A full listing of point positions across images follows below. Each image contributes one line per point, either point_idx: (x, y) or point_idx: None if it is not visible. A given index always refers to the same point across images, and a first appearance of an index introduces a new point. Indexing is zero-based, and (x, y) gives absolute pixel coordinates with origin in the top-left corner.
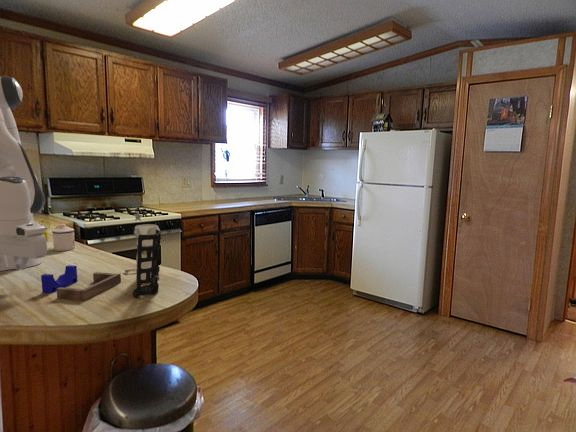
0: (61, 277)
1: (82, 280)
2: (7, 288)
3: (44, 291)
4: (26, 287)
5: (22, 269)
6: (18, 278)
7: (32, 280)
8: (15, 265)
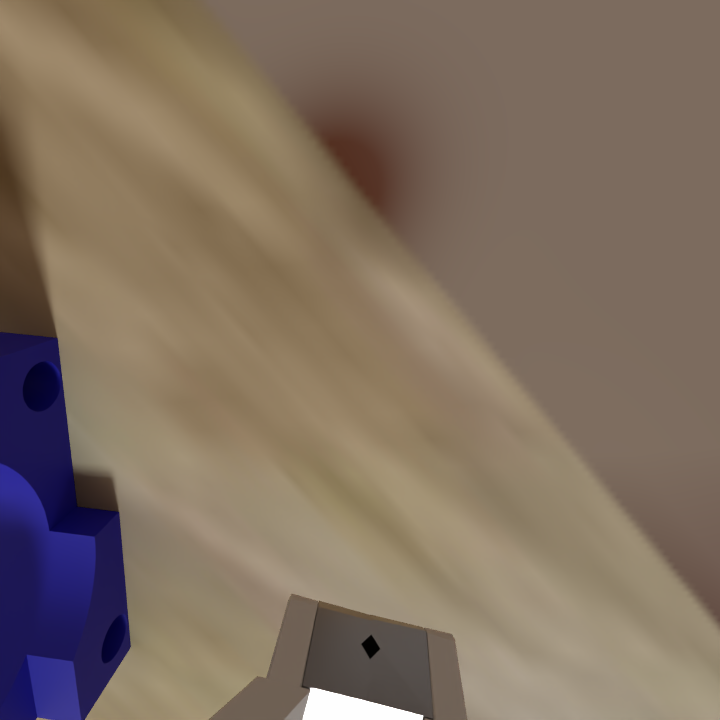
0: (50, 630)
1: None
2: (518, 426)
3: (19, 339)
4: (343, 470)
5: (290, 601)
6: (624, 696)
7: None
8: (448, 692)
